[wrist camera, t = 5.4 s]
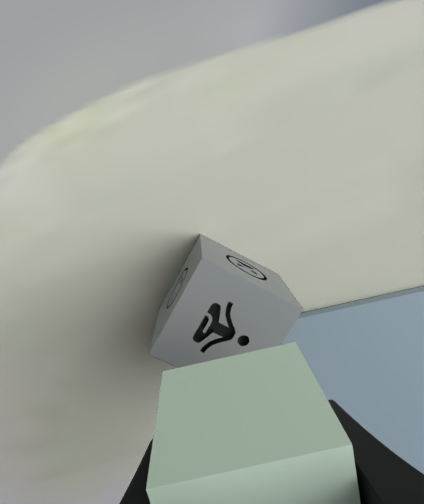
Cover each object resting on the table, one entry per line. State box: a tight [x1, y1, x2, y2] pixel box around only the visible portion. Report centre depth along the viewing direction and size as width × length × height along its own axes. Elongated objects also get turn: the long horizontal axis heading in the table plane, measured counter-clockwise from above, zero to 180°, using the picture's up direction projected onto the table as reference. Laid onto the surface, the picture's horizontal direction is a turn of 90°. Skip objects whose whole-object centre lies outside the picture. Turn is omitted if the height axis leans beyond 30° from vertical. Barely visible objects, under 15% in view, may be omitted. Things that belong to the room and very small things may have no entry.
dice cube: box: [149, 234, 303, 368], centre depth 19 cm, size 5×5×5 cm
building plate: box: [281, 286, 424, 474], centre depth 23 cm, size 14×14×1 cm
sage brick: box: [146, 342, 361, 504], centre depth 11 cm, size 4×4×4 cm
